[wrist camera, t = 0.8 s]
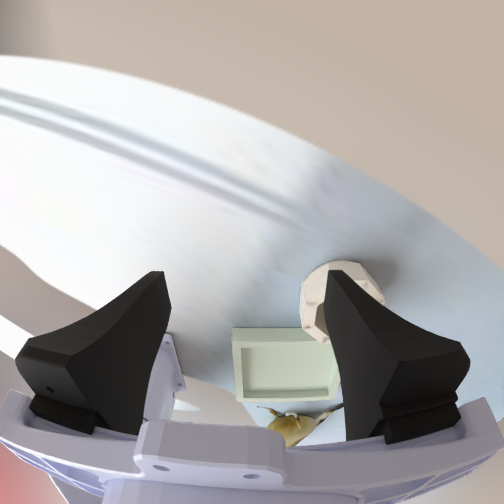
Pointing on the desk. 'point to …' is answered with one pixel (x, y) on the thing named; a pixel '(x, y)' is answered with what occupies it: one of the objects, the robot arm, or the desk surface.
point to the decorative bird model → (296, 425)
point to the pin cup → (315, 295)
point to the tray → (282, 366)
